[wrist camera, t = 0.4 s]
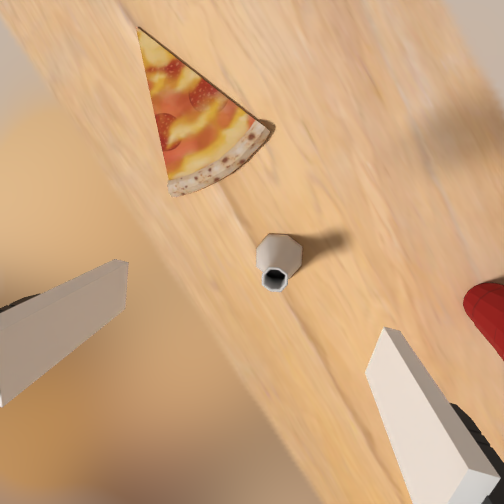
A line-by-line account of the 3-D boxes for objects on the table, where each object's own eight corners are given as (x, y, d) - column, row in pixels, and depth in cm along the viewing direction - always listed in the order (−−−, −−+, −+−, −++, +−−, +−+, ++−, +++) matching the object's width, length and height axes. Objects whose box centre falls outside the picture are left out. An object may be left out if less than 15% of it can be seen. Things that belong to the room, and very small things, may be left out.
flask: (264, 225, 40) (255, 240, 31) (310, 242, 40) (316, 262, 31) (249, 269, 43) (236, 295, 33) (292, 285, 42) (292, 316, 33)
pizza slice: (254, -3, 34) (252, -13, 32) (276, 181, 39) (275, 181, 37) (139, 29, 36) (130, 21, 34) (175, 197, 42) (169, 198, 40)
